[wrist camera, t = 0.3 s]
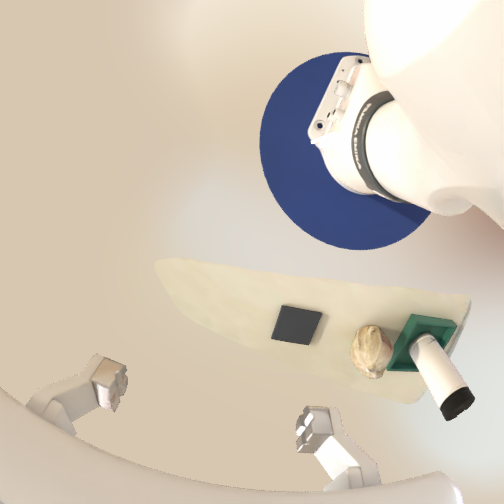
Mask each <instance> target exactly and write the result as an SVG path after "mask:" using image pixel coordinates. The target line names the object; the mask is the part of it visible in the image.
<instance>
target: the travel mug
mask: <svg viewBox="0 0 504 504" xmlns="http://www.w3.org/2000/svg"><path fill="white" fill-rule="evenodd" d="M408 352H409V354H410V356H411V357H412V359H413V361H414V363H415V364H416V366H417V368H418V370H419V371H420V373H421V375H422V377H423V379H424V380H425V382H426V384H427V386H428V388H429V389H430V391H431V393H432V395H433V397H434V399H435V401H436V403H437V405H438V406H439V409H440V410H441V412H442V414H443V416H444V418H445V420H446V421H450V420H452V419H454V418H456V417H457V415H459V414H460V413H462V412H463V411H464V410H467V409H468V408H469V407H470V406H471V404H472V403H473V402H474V400H475V397H474V396H473V394H472V393H471V391H470V390H469V387H468V386H467V384H466V383H465V381H464V380H463V378H462V377H461V375H460V374H459V372H458V371H457V369H456V368H455V366H454V365H453V363H452V362H451V360H450V359H449V357H448V356H447V355H446V353H445V352H444V350H443V349H442V348H441V346H440V345H439V343H438V342H437V341H436V339H435V338H434V337H433V335H432V334H431V333H428V332H425V333H422V334H420V335H418V336H416V337H415V338H414V339H413V340H412V342H411V343H410V345H409V349H408Z"/></svg>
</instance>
